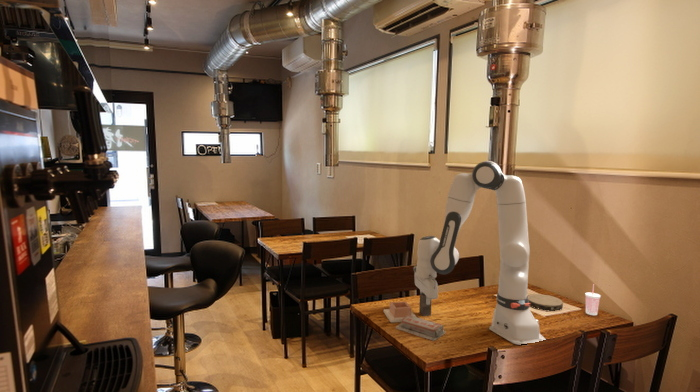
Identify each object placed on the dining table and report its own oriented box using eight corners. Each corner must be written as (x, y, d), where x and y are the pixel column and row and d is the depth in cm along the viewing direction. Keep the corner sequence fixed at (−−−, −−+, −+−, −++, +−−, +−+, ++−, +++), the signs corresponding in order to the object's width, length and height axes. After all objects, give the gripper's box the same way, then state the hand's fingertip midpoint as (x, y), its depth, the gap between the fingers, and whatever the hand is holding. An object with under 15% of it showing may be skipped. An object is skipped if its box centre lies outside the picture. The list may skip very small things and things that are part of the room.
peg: (430, 315, 184) (431, 296, 183) (422, 316, 183) (423, 296, 182) (427, 312, 187) (428, 293, 187) (419, 312, 187) (419, 293, 186)
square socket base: (417, 320, 177) (418, 309, 177) (390, 322, 175) (391, 310, 175) (408, 310, 189) (409, 299, 188) (383, 311, 187) (383, 300, 186)
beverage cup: (584, 314, 188) (586, 284, 186) (583, 310, 193) (585, 281, 192) (599, 317, 185) (602, 286, 184) (598, 312, 190) (600, 283, 189)
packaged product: (446, 322, 165) (434, 330, 158) (446, 334, 166) (434, 342, 158) (407, 311, 176) (395, 318, 169) (407, 322, 177) (395, 329, 169)
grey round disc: (562, 303, 203) (562, 297, 202) (562, 314, 189) (563, 307, 188) (527, 297, 210) (527, 292, 209) (525, 307, 196) (525, 301, 195)
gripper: (442, 278, 174) (441, 310, 175) (425, 265, 194) (424, 294, 195) (428, 279, 172) (427, 311, 174) (412, 266, 192) (411, 294, 194)
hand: (425, 301), depth 185 cm, fingers closed on peg, 4 cm apart
